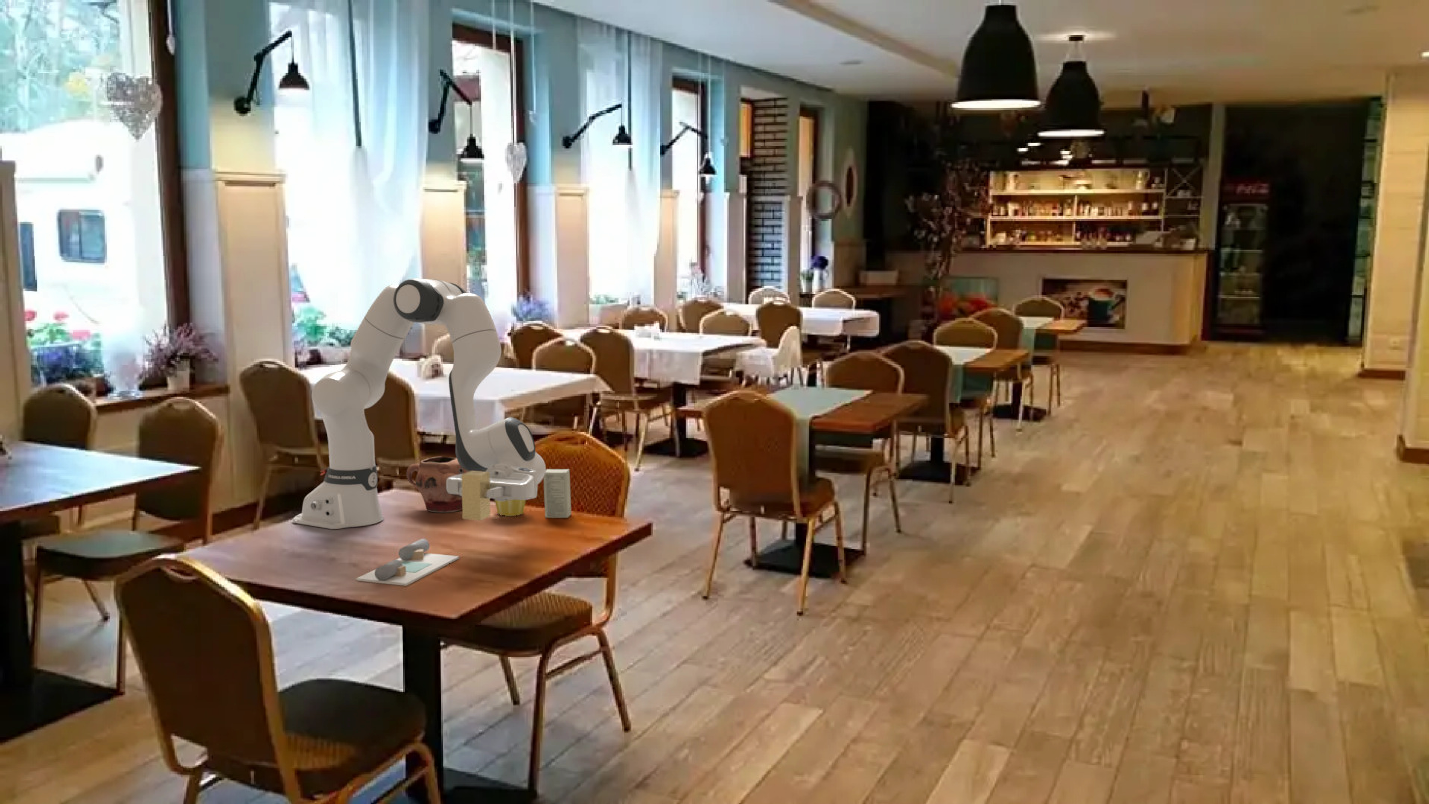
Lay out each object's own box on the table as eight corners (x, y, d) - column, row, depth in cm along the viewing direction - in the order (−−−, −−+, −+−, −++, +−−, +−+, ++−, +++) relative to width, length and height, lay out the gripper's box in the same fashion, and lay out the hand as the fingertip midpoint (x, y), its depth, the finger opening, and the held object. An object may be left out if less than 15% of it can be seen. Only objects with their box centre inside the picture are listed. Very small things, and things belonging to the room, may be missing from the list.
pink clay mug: (394, 512, 311) (392, 460, 309) (417, 502, 322) (415, 452, 321) (463, 517, 306) (461, 464, 304) (484, 506, 317) (482, 456, 315)
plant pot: (530, 508, 316) (529, 472, 315) (531, 517, 306) (530, 480, 305) (491, 509, 314) (490, 473, 313) (490, 518, 304) (489, 481, 303)
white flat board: (415, 552, 271) (415, 537, 271) (461, 557, 268) (461, 542, 267) (356, 580, 250) (355, 564, 249) (406, 585, 246) (405, 569, 246)
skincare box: (571, 514, 309) (570, 469, 307) (567, 518, 305) (567, 472, 303) (547, 513, 310) (547, 468, 308) (543, 517, 305) (543, 471, 304)
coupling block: (462, 518, 260) (461, 474, 259) (472, 514, 264) (471, 470, 263) (480, 520, 259) (479, 475, 258) (490, 515, 263) (489, 472, 262)
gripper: (463, 464, 276) (432, 476, 263) (542, 471, 270) (515, 483, 257) (463, 491, 277) (432, 503, 264) (543, 498, 271) (515, 511, 258)
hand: (474, 493), depth 260 cm, fingers closed on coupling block, 4 cm apart
